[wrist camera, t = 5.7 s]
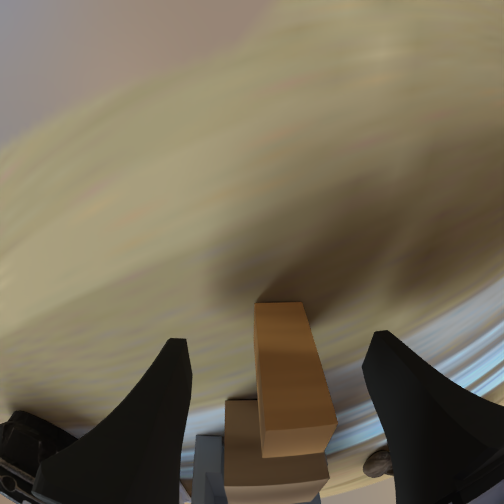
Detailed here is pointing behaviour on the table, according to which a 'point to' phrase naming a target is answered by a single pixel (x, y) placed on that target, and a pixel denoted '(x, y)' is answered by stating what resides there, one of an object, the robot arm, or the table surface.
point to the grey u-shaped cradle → (214, 472)
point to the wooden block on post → (280, 415)
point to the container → (26, 453)
